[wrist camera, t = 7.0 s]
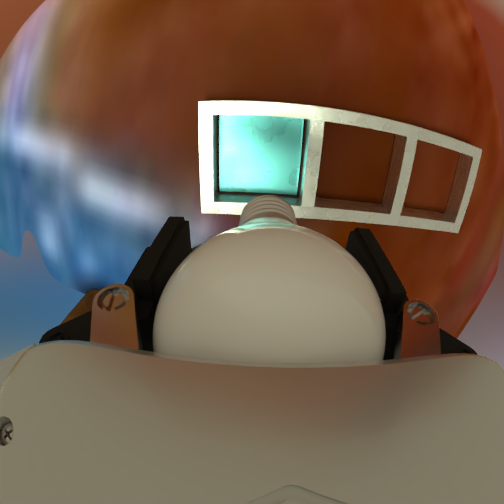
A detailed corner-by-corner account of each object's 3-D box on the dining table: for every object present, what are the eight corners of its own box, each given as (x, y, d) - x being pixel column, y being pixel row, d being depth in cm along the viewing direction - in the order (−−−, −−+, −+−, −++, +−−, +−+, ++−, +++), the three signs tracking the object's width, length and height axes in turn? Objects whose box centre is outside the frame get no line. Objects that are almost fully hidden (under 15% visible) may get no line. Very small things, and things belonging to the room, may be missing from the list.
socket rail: (447, 222, 27) (458, 233, 25) (206, 202, 28) (201, 213, 25) (469, 143, 21) (482, 149, 19) (204, 100, 22) (198, 101, 20)
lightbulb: (244, 280, 16) (227, 473, 7) (182, 192, 13) (67, 393, 4) (345, 237, 14) (416, 437, 5) (296, 131, 12) (413, 309, 2)
